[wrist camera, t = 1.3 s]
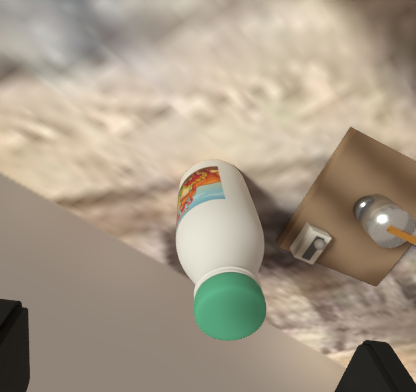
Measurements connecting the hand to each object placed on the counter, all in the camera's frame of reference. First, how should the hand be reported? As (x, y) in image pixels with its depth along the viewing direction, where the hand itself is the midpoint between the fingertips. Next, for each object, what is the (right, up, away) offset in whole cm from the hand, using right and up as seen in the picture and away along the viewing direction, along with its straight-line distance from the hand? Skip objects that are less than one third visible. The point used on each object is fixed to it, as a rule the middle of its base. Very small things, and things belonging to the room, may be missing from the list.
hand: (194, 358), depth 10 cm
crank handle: (+23, +1, +31) cm, 39 cm away
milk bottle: (+1, +5, +30) cm, 30 cm away
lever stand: (+19, +3, +32) cm, 37 cm away
